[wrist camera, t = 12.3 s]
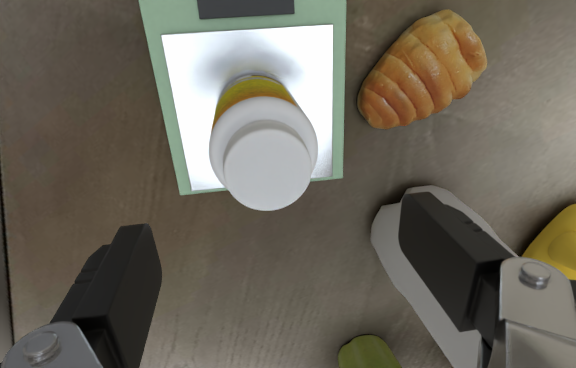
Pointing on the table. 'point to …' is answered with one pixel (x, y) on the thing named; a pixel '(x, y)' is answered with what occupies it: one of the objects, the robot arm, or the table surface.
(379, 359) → the plant pot
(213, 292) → the table surface
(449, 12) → the pastry
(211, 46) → the scale
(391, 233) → the bottle
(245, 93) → the supplement bottle
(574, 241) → the teapot
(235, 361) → the table surface
